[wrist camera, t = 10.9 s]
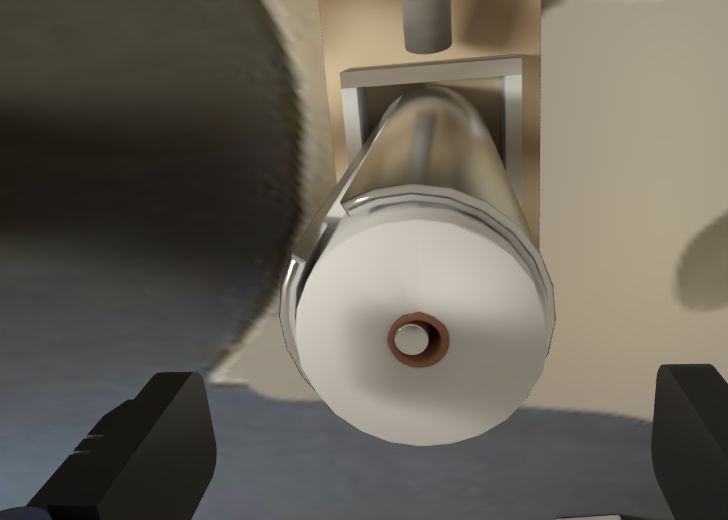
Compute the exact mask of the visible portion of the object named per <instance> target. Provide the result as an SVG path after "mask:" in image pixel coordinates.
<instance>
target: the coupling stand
mask: <svg viewBox="0 0 728 520" xmlns="http://www.w3.org/2000/svg"><path fill="white" fill-rule="evenodd" d="M318 3H319V13H320V23H321V33H322V42H323V52H324V62H325V72H326V81H327V91H328V101H329V111H330V121H331V130H332V140H333V150H334V160H335V169H336V179H337V184H338V182H339V181H340V179H341V178H342V176H343V175H344V173H345V172H346V170H347V169H348V167H349V166H350V164H351V163H352V161H353V160H354V158H355V157H356V155H357V154H358V152H359V151H360V149H361V148H362V146H363V145H364V143H365V142H366V140H367V139H368V137H369V136H370V134H371V133H372V131H373V130H374V128H375V127H376V125H377V124H378V122H379V121H380V119H381V118H382V116H383V115H384V113H385V112H386V111H387V109H388V108H389V106H390V105H391V104H392V103H393V102H394V101H395V100H396V99H398V98H399V97H400V96H401V95H403V94H404V93H406V92H409V91H411V90H413V89H415V88H419V87H425V86H431V85H433V86H442V87H448V88H451V89H453V90H456V91H458V92H461V93H462V94H463V95H465V96H466V97H467V98H469V99H470V100H471V101H472V102H473V103H474V104H475V105H476V107H477V108H478V109H479V111H480V112H481V113H482V116H483V118H484V120H485V123H486V125H487V128H488V130H489V132H490V135H491V137H492V140H493V142H494V144H495V147H496V149H497V151H498V154H499V156H500V159H501V161H502V163H503V166H504V168H505V170H506V173H507V175H508V178H509V180H510V182H511V185H512V187H513V189H514V192H515V194H516V197H517V199H518V201H519V204H520V206H521V208H522V211H523V213H524V216H525V218H526V220H527V223H528V225H529V228H530V230H531V232H532V235H533V237H534V239H535V242H536V244H537V247H538V249H539V216H540V77H541V75H540V73H541V72H540V70H541V0H318Z"/></svg>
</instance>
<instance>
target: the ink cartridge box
mask: <svg viewBox="0 0 728 520" xmlns="http://www.w3.org/2000/svg"><path fill="white" fill-rule="evenodd" d="M556 520H621V517H620V515H608V516H593V517H577V518H560V519H556Z"/></svg>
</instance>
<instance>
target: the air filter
mask: <svg viewBox="0 0 728 520" xmlns="http://www.w3.org/2000/svg"><path fill="white" fill-rule="evenodd" d="M279 318H280V322H281V326H282V331H283V335H284V339H285V343H286V347H287V350H288V352H289V353H290V355H291V357H292V359H293V361H294V363H295V365H296V367H297V368H298V370H299V372H300V374H301V376H302V377H303V378H304V379H305V380H306V381H307V382H308V384H309V385H310V386H311V387H312V388H313V389H314V390H315V391H316V392H317V393H318V395H319V396H320V397H321V398H322V399H323V400H324V401H325V402H326V403H327V405H328V406H329V407H330V408H331V409H332V410H333V411H334V413H335V414H337V415H338V416H340V417H341V418H343V419H344V420H346V421H347V422H349V423H350V424H352V425H353V426H355V427H356V428H358V429H359V430H361V431H363V432H366V433H368V434H371V435H373V436H376V437H379V438H381V439H384V440H386V441H389V442H395V443H402V444H409V445H417V446H427V445H440V444H452V443H455V442H458V441H461V440H465V439H468V438H471V437H474V436H478V435H481V434H483V433H484V432H486V431H488V430H489V429H491V428H493V427H494V426H496V425H498V424H499V423H501V422H503V421H504V420H506V419H507V418H508V417H509V416H510V415H511V414H512V413H513V412H514V411H515V410H516V409H517V408H518V407H519V406H520V405H521V404H522V403H523V401H524V400H525V399H526V398H527V397H528V396H529V394H530V392H531V391H532V389H533V387H534V386H535V384H536V382H537V380H538V379H539V377H540V376H541V374H542V372H543V367H544V362H545V359H546V357H547V355H548V352H549V348H550V343H551V339H552V334H553V330H554V325H555V320H556V318H555V304H554V291H553V284H552V282H551V279H550V277H549V274H548V272H547V269H546V267H545V264H544V261H543V259H542V256H541V254H540V251H539V249H538V247H537V244H536V242H535V239H534V237H533V235H532V232H531V230H530V228H529V225H528V223H527V220H526V218H525V216H524V213H523V211H522V208H521V206H520V204H519V201H518V199H517V197H516V194H515V192H514V189H513V187H512V185H511V182H510V180H509V178H508V175H507V173H506V170H505V168H504V166H503V163H502V161H501V159H500V156H499V154H498V151H497V149H496V147H495V144H494V142H493V140H492V137H491V135H490V132H489V130H488V128H487V125H486V123H485V120H484V118H483V116H482V113H481V112H480V111H479V109H478V108H477V107H476V105H475V104H474V103H473V102H472V101H471V100H470V99H469V98H467V97H466V96H465V95H463V94H462V93H461V92H458V91H456V90H453V89H451V88H448V87H442V86H433V85H431V86H425V87H419V88H415V89H413V90H411V91H409V92H406V93H404V94H403V95H401V96H400V97H399V98H398V99H396V100H395V101H394V102H393V103H392V104H391V105H390V106H389V108H388V109H387V111H386V112H385V113H384V115H383V116H382V118H381V119H380V121H379V122H378V124H377V125H376V127H375V128H374V130H373V131H372V133H371V134H370V136H369V137H368V139H367V140H366V142H365V143H364V145H363V146H362V148H361V149H360V151H359V152H358V154H357V155H356V157H355V158H354V160H353V161H352V163H351V164H350V166H349V167H348V169H347V170H346V172H345V173H344V175H343V176H342V178H341V179H340V181H339V182H338V184H337V185H336V187H335V188H334V190H333V191H332V193H331V194H330V196H329V197H328V199H327V200H326V202H325V203H324V205H323V206H322V208H321V209H320V211H319V212H318V214H317V215H316V217H315V218H314V220H313V221H312V223H311V224H310V226H309V227H308V229H307V230H306V232H305V233H304V235H303V236H302V238H301V239H300V241H299V242H298V244H297V245H296V247H295V248H294V250H293V251H292V253H291V256H290V259H289V262H288V264H287V267H286V270H285V273H284V276H283V279H282V282H281V291H280V311H279Z"/></svg>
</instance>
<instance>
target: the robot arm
mask: <svg viewBox="0 0 728 520" xmlns="http://www.w3.org/2000/svg"><path fill="white" fill-rule="evenodd" d="M651 451H652V461H653V467H654V472H655V476H656V479H657V481H658V484H659V486H660V488H661V490H662V492H663V495H664V497H665V499H666V501H667V503H668V505H669V507H670V509H671V512H672V514H673V516H674V518H675V520H728V384H727V383H726V381H725V380H724V379H723V377H722V376H721V375H720V374H719V372H718V371H717V370H716V369H715V367H714V366H712V365H711V364H669V365H661V366H660V368H659V370H658V373H657V379H656V392H655V404H654V417H653V430H652V443H651ZM216 455H217V451H216V441H215V436H214V430H213V425H212V420H211V415H210V410H209V405H208V400H207V395H206V389H205V385H204V381H203V378H202V376H201V375H200V374H199V373H198V372H163V373H156V374H155V375H154V376H153V377H152V378H151V379H150V380H149V382H148V383H147V384H146V385H145V387H144V388H143V389H142V390H141V391H140V393H139V394H138V395H137V396H136V398H135V399H134V400H127V401H125V402H124V403H122V404H121V405H119V406H118V407H116V408H115V409H113V410H112V411H110V412H109V413H107V414H106V415H104V416H103V417H102V418H101V419H100V421H99V422H98V423H97V424H96V425H95V426H94V428H93V429H92V430H91V431H90V432H89V433H88V435H87V439H83V440H82V441H81V443H80V444H79V445H78V446H77V447H76V448H75V450H74V454H73V455H69V457H68V458H67V459H66V460H65V461H64V462H63V463H62V465H61V466H60V467H59V468H58V469H57V470H56V472H55V473H54V474H53V475H52V476H51V477H50V478H49V480H48V481H47V482H46V483H45V484H44V485H43V487H42V488H41V489H40V490H39V491H38V492H37V494H36V495H35V496H34V497H33V498H32V499H31V500H30V502H29V503H28V504H27V505H26V506H25V507H15V508H10V509H6V510H3V511H0V520H191V519H192V517H193V515H194V513H195V511H196V509H197V507H198V505H199V503H200V501H201V499H202V497H203V495H204V493H205V491H206V489H207V487H208V485H209V483H210V481H211V479H212V477H213V474H214V470H215V465H216Z"/></svg>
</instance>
